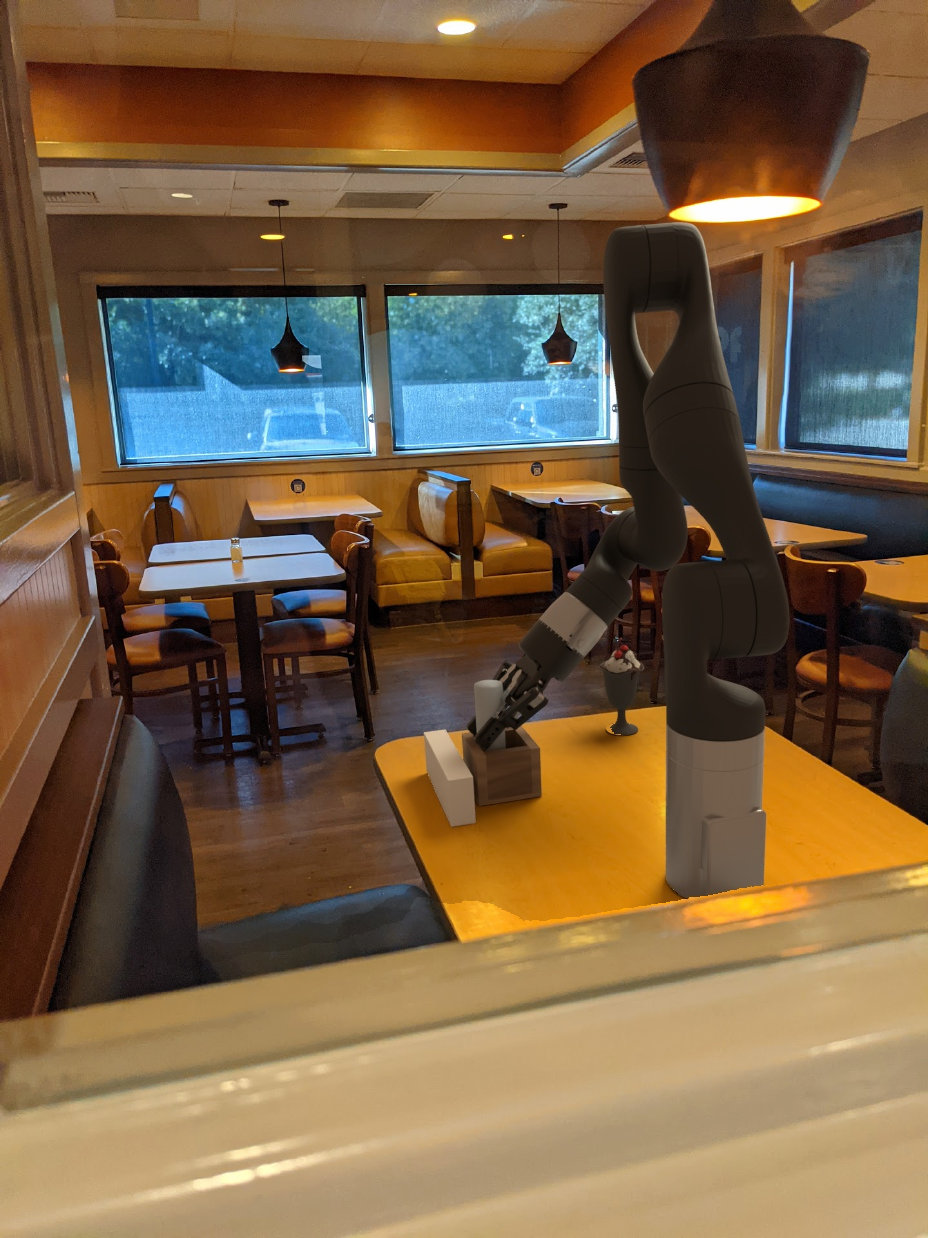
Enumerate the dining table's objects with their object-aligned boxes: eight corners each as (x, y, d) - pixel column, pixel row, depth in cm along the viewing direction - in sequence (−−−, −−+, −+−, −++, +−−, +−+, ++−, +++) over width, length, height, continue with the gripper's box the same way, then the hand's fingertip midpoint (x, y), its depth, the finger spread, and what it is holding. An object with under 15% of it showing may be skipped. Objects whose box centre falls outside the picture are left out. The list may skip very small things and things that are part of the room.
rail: (475, 823, 100) (473, 777, 98) (451, 827, 99) (448, 780, 98) (447, 769, 115) (445, 729, 114) (426, 773, 114) (423, 732, 113)
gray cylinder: (510, 775, 106) (505, 687, 104) (482, 779, 106) (477, 690, 103) (502, 764, 110) (498, 678, 107) (476, 768, 109) (471, 682, 106)
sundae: (614, 741, 121) (613, 643, 118) (591, 726, 127) (589, 632, 124) (653, 733, 124) (653, 636, 120) (628, 718, 130) (627, 626, 126)
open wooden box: (541, 796, 106) (540, 747, 104) (479, 806, 104) (476, 757, 102) (522, 770, 113) (520, 725, 112) (464, 779, 112) (461, 733, 110)
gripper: (526, 606, 111) (442, 704, 112) (561, 631, 98) (466, 742, 98) (564, 640, 114) (483, 735, 114) (604, 669, 100) (511, 777, 101)
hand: (476, 738), depth 106 cm, fingers closed on gray cylinder, 3 cm apart
